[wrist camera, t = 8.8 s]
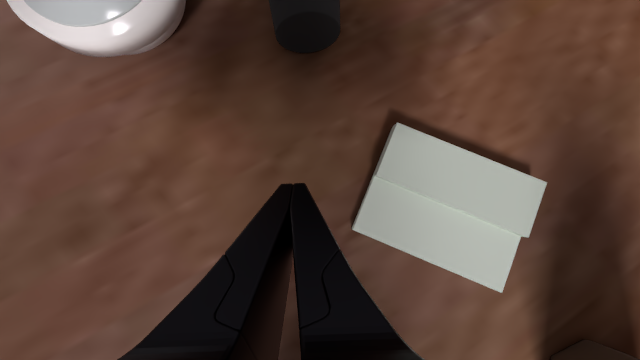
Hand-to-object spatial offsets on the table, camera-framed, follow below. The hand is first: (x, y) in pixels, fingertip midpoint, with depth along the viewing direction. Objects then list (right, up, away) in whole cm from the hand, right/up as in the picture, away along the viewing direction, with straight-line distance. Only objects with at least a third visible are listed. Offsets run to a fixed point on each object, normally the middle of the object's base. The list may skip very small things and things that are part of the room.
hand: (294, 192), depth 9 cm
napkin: (+11, -2, +11) cm, 16 cm away
